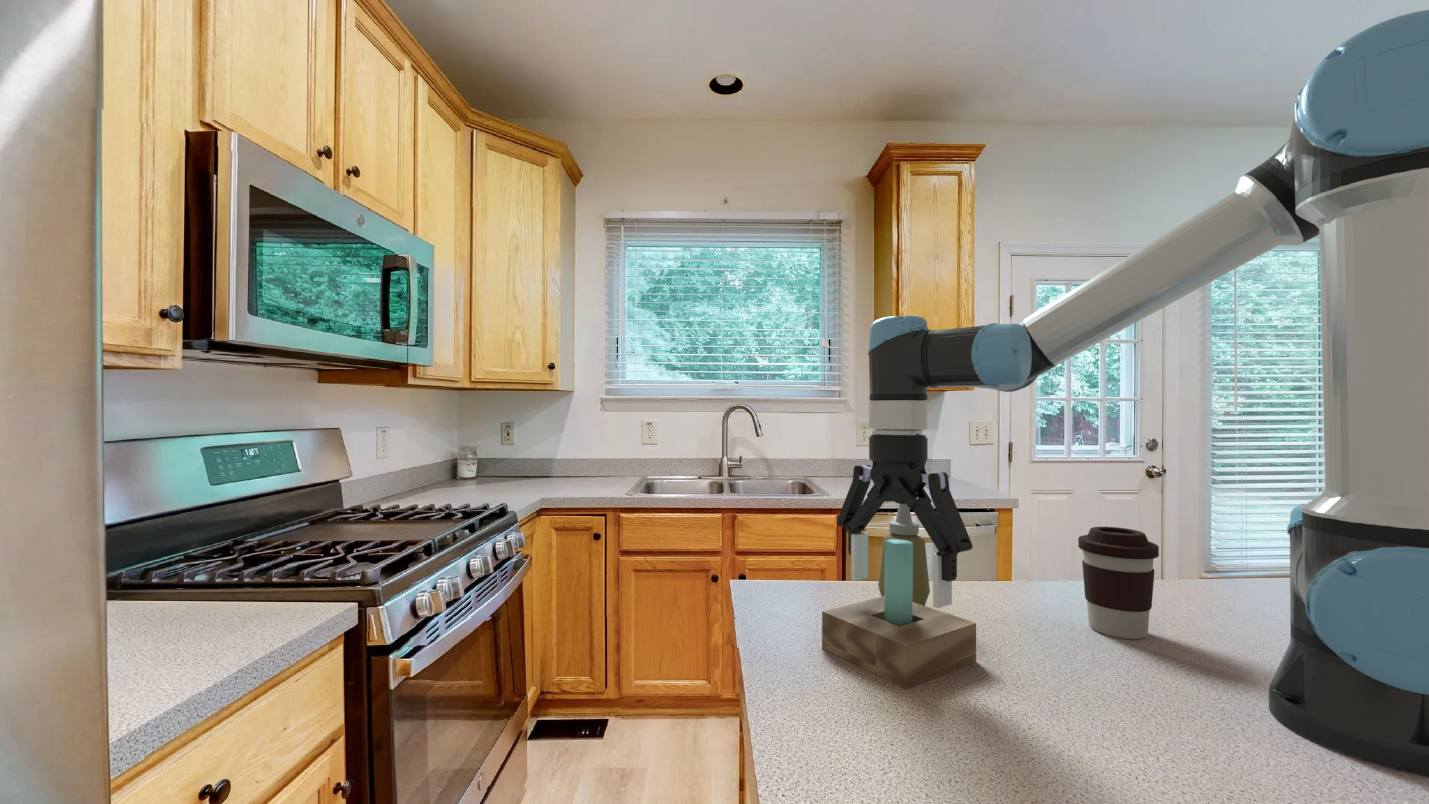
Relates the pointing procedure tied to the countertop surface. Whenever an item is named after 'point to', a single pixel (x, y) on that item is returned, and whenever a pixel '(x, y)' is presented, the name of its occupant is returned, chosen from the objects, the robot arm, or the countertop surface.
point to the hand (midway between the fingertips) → (898, 591)
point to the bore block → (899, 641)
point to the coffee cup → (1118, 580)
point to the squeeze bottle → (908, 532)
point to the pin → (898, 582)
